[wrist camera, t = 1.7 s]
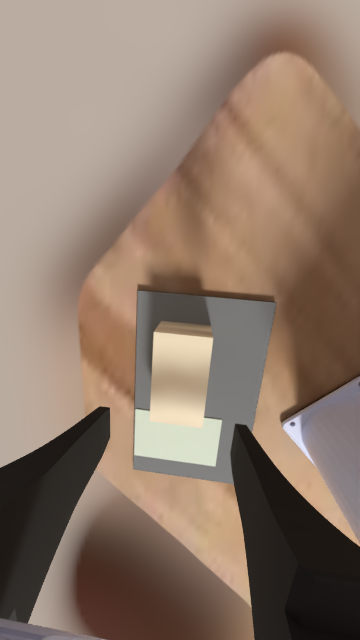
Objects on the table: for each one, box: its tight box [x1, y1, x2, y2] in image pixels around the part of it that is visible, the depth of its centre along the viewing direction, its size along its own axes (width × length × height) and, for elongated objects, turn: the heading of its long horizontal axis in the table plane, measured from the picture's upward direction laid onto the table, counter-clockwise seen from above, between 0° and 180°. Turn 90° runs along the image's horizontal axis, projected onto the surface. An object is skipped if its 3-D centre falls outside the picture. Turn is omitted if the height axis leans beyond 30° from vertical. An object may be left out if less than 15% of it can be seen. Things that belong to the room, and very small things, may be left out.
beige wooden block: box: [150, 321, 213, 428], centre depth 19 cm, size 8×4×3 cm, turn 176°
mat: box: [133, 290, 276, 484], centre depth 22 cm, size 20×12×1 cm, turn 176°
